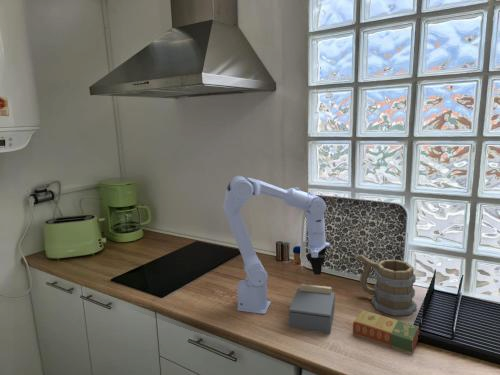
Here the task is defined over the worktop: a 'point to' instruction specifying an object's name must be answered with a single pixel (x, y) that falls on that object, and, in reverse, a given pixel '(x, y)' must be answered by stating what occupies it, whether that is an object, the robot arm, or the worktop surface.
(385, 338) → the carton
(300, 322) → the box
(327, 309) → the lid
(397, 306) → the tankard
